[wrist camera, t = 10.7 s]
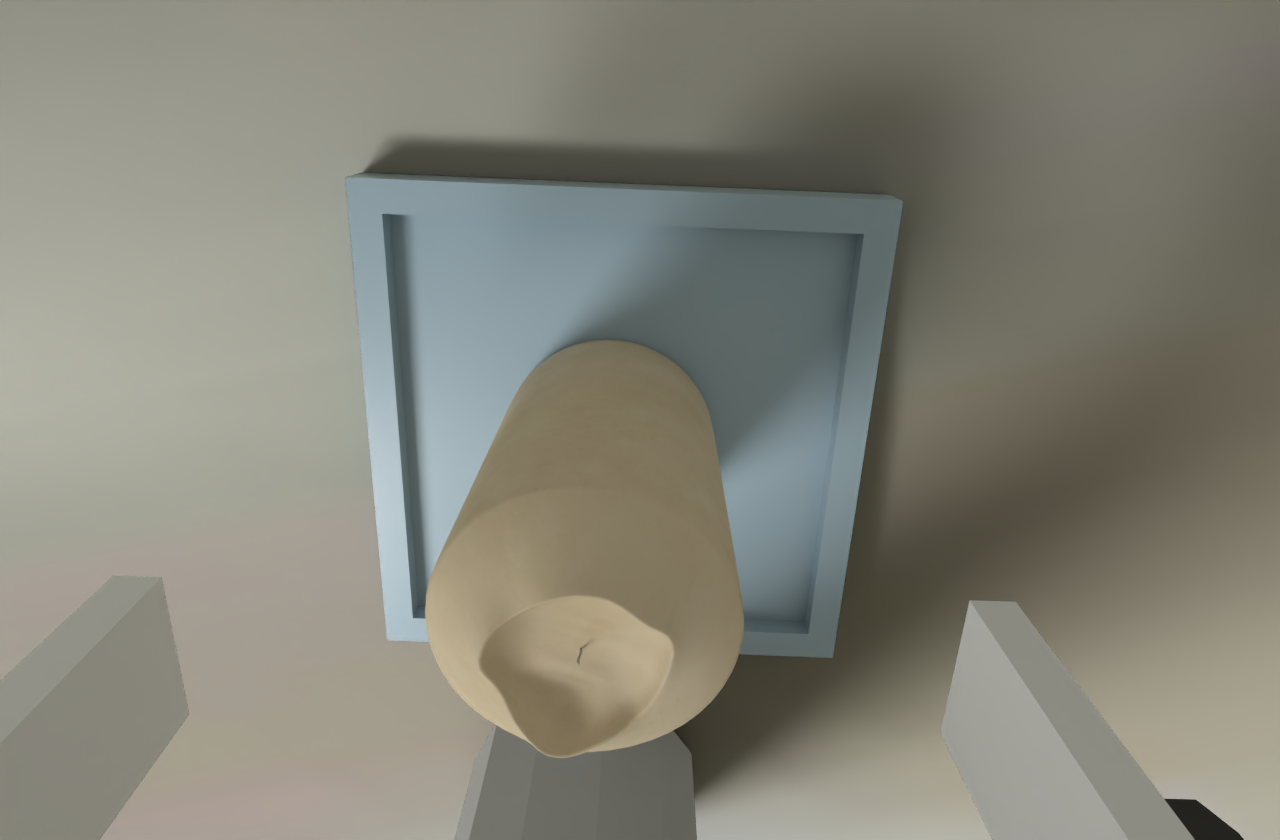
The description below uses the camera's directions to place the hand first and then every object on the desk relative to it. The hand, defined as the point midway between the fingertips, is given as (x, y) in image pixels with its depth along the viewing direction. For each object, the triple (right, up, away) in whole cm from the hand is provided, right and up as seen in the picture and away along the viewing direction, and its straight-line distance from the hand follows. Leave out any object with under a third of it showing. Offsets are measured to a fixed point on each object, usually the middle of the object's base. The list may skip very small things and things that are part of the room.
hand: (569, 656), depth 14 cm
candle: (0, +4, +9) cm, 9 cm away
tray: (+1, +4, +9) cm, 10 cm away
